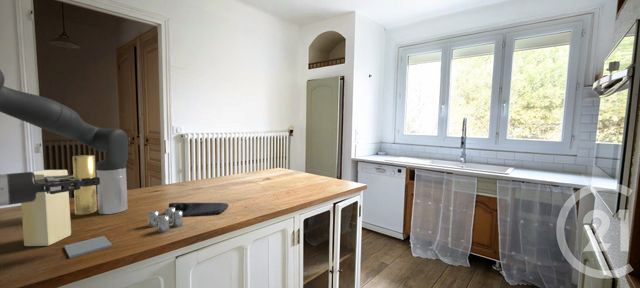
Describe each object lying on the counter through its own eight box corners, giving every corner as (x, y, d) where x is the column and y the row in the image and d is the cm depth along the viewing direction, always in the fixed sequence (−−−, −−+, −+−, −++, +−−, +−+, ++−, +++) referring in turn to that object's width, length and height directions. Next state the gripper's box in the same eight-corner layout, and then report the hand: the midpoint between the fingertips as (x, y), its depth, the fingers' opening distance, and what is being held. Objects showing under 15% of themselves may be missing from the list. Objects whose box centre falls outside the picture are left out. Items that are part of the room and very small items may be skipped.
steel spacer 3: (164, 224, 93) (163, 210, 93) (168, 220, 97) (167, 207, 96) (174, 223, 94) (173, 209, 93) (177, 219, 97) (176, 206, 97)
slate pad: (64, 247, 75) (64, 245, 75) (104, 237, 82) (104, 235, 82) (69, 258, 69) (69, 256, 69) (112, 246, 76) (111, 244, 76)
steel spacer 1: (147, 226, 91) (146, 212, 91) (157, 223, 94) (156, 209, 94) (150, 228, 89) (149, 214, 89) (160, 225, 92) (160, 211, 92)
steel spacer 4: (171, 225, 92) (170, 212, 92) (180, 223, 94) (180, 209, 94) (174, 228, 90) (174, 214, 90) (184, 225, 92) (184, 211, 92)
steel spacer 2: (156, 231, 87) (156, 216, 87) (167, 228, 90) (166, 214, 89) (160, 234, 85) (160, 219, 85) (171, 231, 88) (170, 216, 87)
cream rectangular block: (47, 234, 83) (42, 169, 81) (72, 234, 84) (68, 169, 82) (20, 246, 75) (15, 174, 73) (48, 246, 76) (43, 174, 74)
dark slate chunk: (221, 218, 102) (221, 206, 101) (161, 219, 99) (161, 207, 99) (230, 205, 117) (230, 195, 117) (179, 206, 115) (178, 195, 114)
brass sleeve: (73, 211, 74) (71, 156, 73) (94, 208, 78) (92, 154, 77) (76, 215, 71) (74, 157, 70) (98, 211, 75) (96, 156, 74)
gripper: (5, 178, 58) (103, 169, 71) (4, 170, 67) (91, 163, 80) (7, 211, 59) (104, 196, 72) (6, 199, 68) (92, 187, 81)
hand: (96, 179), depth 76 cm, fingers closed on brass sleeve, 4 cm apart
